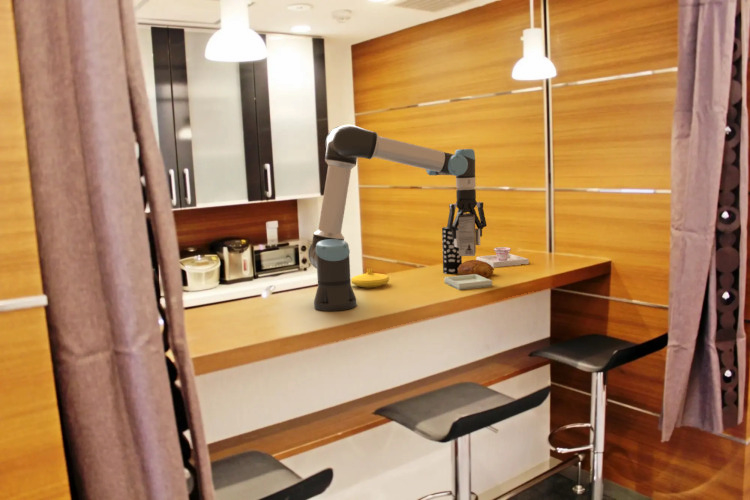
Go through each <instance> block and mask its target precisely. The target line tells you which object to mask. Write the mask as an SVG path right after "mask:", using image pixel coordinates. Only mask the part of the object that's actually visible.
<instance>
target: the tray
mask: <svg viewBox="0 0 750 500" xmlns="http://www.w3.org/2000/svg"><path fill="white" fill-rule="evenodd" d="M444 284H446V285H448V286H450V287H452V288H454V289H456V290H458V291H463V290H464V291H465V290H472V289H482V287H483V288H491V287H490V286H492V287H493V280H492V279H490V278H488V277H486V278H485V277H482V276H479V275H477V274H472V275H454V276H445V277H444Z"/></svg>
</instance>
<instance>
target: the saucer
mask: <svg viewBox="0 0 750 500" xmlns="http://www.w3.org/2000/svg"><path fill="white" fill-rule="evenodd" d="M495 258H497V254H495V255H493V254H491V255H482V256H476V259H475V260H479V261H483V262H486V263H488V264H490V265H491V266H492V267H493V268H501V267H513V265H514V266H521V264H525V265H529V263H530V262H529V261H530V259H529V258H526V257H524V256H520V255H515V254H512V253H509V254H508V258H511V259H515V260H508V261H498V262H493V261H490V260H491V259H495Z"/></svg>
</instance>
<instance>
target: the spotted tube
mask: <svg viewBox="0 0 750 500" xmlns="http://www.w3.org/2000/svg"><path fill="white" fill-rule="evenodd" d="M457 231H458V227H457ZM441 237H442V238H441V241H442V244H441V245H442V273H443V274H445V275H460V274H459V273H458V267H459V265H460V264H462V263H463V261H462V260H463V259H462V257H463V256H459V247H454V239H452V230H450V229H447V226H443V227H441ZM458 237H459V234H458Z"/></svg>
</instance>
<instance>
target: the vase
mask: <svg viewBox="0 0 750 500" xmlns="http://www.w3.org/2000/svg"><path fill="white" fill-rule="evenodd" d="M350 281H351V284H353V285H355V286H357V287H360V288H377V287H382V286H384V285H385V284H387V283H388V282H389V281H390V277H389V276H388V275H386V274H383V273H375V272H373V268H367V269H366V273H361V274H358V275H357V274H356V275H354V276H353V277H352V278H350Z"/></svg>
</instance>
